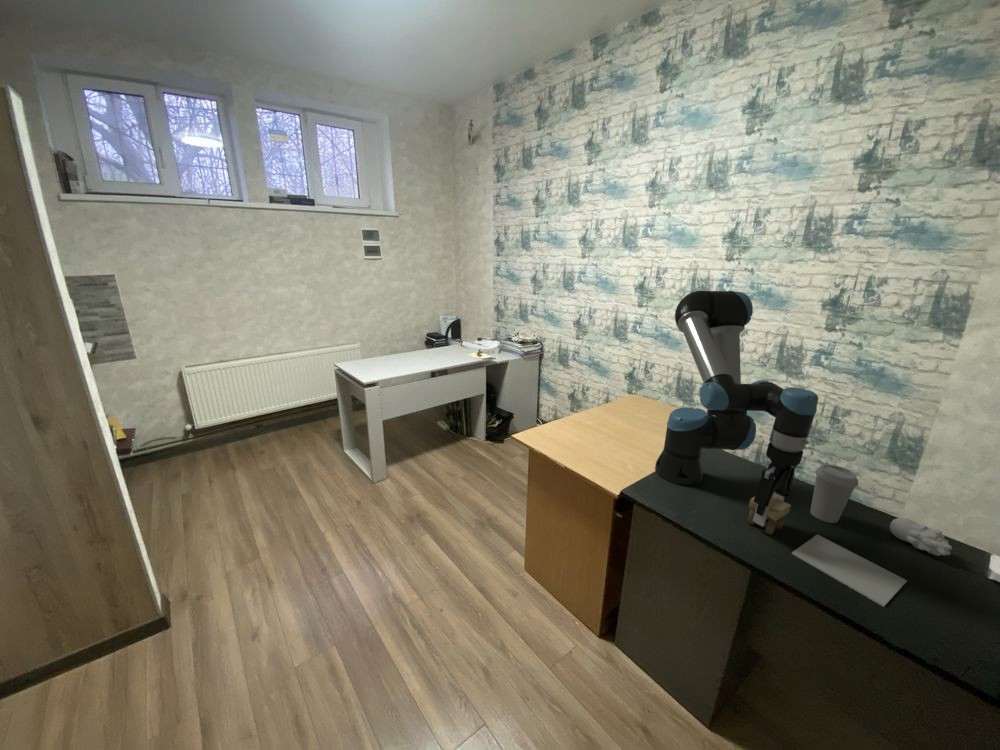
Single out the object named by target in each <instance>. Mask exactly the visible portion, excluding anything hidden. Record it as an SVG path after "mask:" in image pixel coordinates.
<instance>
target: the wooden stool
mask: <svg viewBox="0 0 1000 750" xmlns="http://www.w3.org/2000/svg"><path fill="white" fill-rule="evenodd" d="M754 498H755V496H753V497H751V498H750V500H749V504H748V507H749V508H750V509H749V513H748V516H747V523H749V524H750V525H755V522H754V521H753V518H754V514H755V510H756V506H757V503H755V502H754ZM768 505H769V506H770V507H769V511H768V514H767V518H768V520H767V523H766V527H765V530H764V532H765V533H766V534H768V535H770V536H771V535H772V536H773V535H774V531H775V529H779V530H781V529H783V526H784V522H785V519H786V515H788V514H789V513H790V510H791V506H792V505H791V504H790V503H788V502H785V500H784V501H782V500H780V499H778V498H776V497H774V496H772V498H771V500H770V502H769V504H768Z"/></svg>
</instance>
